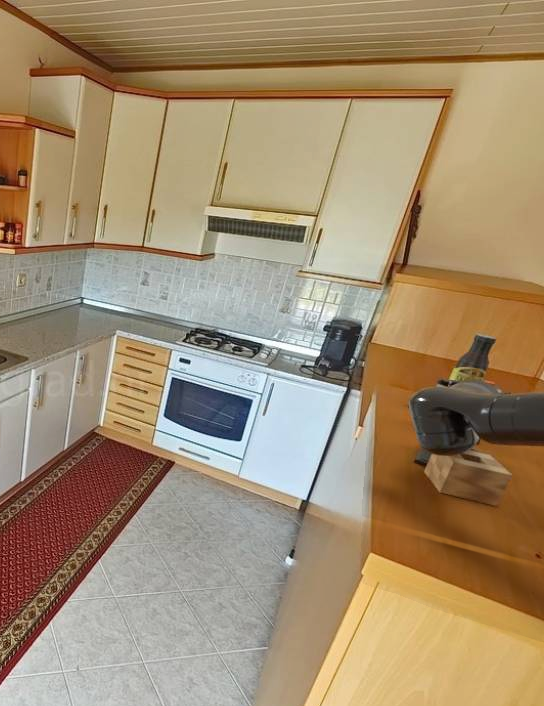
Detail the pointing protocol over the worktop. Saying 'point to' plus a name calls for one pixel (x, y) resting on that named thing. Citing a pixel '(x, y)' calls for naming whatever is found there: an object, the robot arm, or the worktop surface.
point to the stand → (469, 476)
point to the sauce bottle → (474, 360)
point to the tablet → (425, 456)
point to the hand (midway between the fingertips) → (488, 389)
